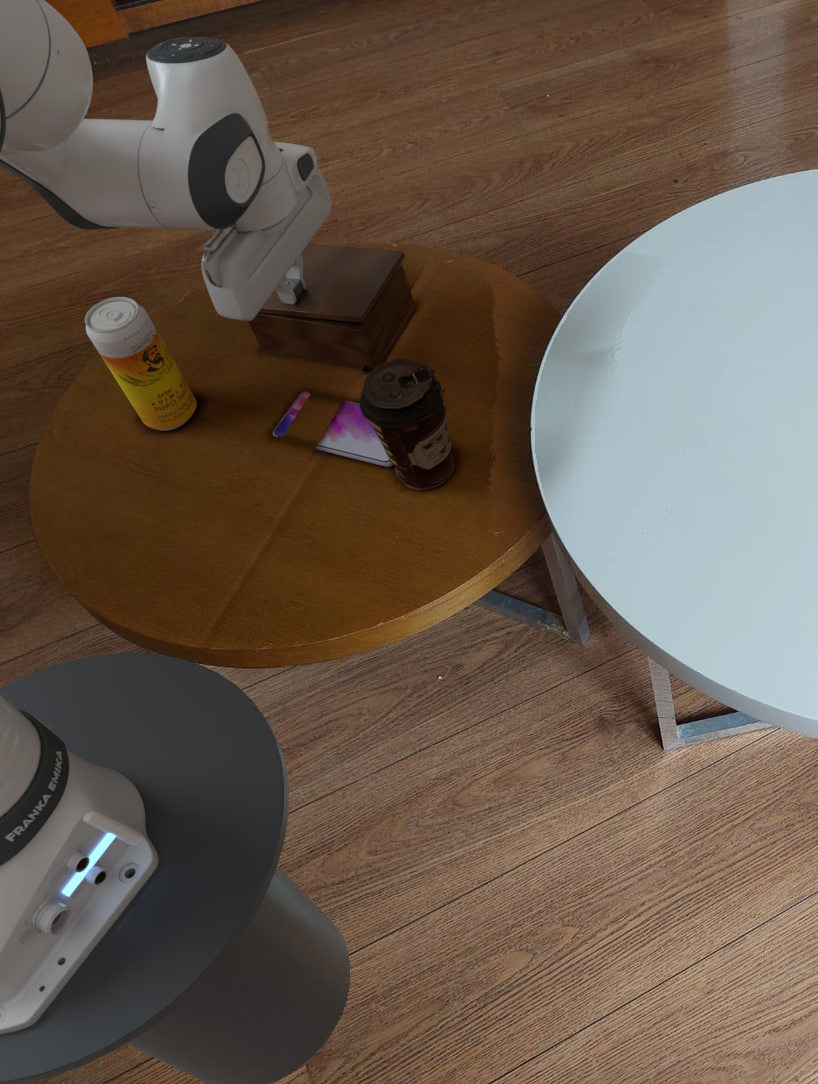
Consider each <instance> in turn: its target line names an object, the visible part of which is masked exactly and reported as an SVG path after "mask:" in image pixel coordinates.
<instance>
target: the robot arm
mask: <svg viewBox="0 0 818 1084" xmlns="http://www.w3.org/2000/svg"><path fill="white" fill-rule="evenodd" d="M145 61H146V66H147V71H148V74H149V78H150V80H151V81H150V82H151V84H152V86H153V90H154V92H155V96H156V98H157V105H156V112H155V115H154V118H153V120H150V119H149V120H145V119H144V120H143V119H112V118H95V117H90V116H89V117H86V115H87V113H88V110H89V108H90V104H91V101H92V97H93V89H94V78H93V77H94V75H93V69H92V62H91V60H90V56H89V53H88V50H87V47H86V44H85V43H84V41H83V40H82V38H81V37H80V35H79V33H78V32H77V30H75V28H74V27H73V26H72V25H71V23H70V22H69V21H68V20H67V19H66V18H65V17H64V16H63V15H62V14H61V13H60V12H59V11H58V10H57V9H55V8H54V7H53V6H52V5H51V3H48V2H47V1H46V0H0V167H1V168H3V169H5V170H6V171H8V172H10V173H11V174H13V175H14V176H16V177H17V178H19V179H21V180H23V181H24V182H25V183H27V184H28V185H29V186H30V187H32V188H33V189H34V190H35V191H36V192H37V193H38V195H40V196H41V197H42V198H43V200H44V201H45V202H46V203H47V204H48V205H49V206H50V207H51V208H52V210H54V212H55V213H56V214H57V215H59V217H61V218H62V219H63V220H64V221H66V222H67V223H68V224H70V225H71V226H73V227H76V228H78V229H80V230H81V229H82V230H86V231H88V230H89V231H91V230H92V231H93V230H114V229H144V230H145V229H146V230H147V229H149V230H174V231H175V230H186V231H187V230H188V231H215V232H214V234H213V235H212V236H211V238H209V239H208V240H207V241H206V242H205V243H204V246H203V251H204V253H203V255H202V256H201V261H200V267H201V273H202V274H201V275H202V277H203V281H204V283H205V286H206V290H207V292H208V295H209V297H210V299H211V302H212V305H213V307H214V309H215V311H216V312H217V314H218V315H219V316H221V317H223V318H226V319H230V320H235V321H242V322H243V321H244V322H248V321H251V320H253V319H254V318H255V316H256V315H257V314H258V312H259V311H260V309H261V308H262V307H263V305H264V304H265V303H266V301H267V300H268V298H269V297H270V296H271V294H272V293H273V292H274V291H277V294H278V296H279V298H280V300H281V301H282V302H283V303H286V304H292V305H293V304H295V303H296V301H297V300H298V298H299V297H300V295H301V294H302V293H303V291H304V290H305V288H306V284H305V281H304V279H303V277H302V276H303V257H302V254H301V253H302V252H303V250H304V249H305V248H306V246H307V245H308V244H310V243H311V241H312V239H313V238H314V237H315V235H316V234H317V233H318V231H319V230H320V229H321V227H322V226H323V224H325V222H326V221H327V220H328V218H329V217H330V216H331V213H332V205H333V204H332V203H333V200H332V197H331V193H330V191H329V187H328V184H327V182H326V180H325V177H324V175H323V172H322V170H321V168H320V167H319V166H317V165H318V158H317V154H316V152H315V150H314V148H313V147H309V146H306V145H301V144H296V143H289V142H282V141H280V142H279V141H274V140H273V139H272V137H271V135H270V131H269V121H268V120H269V119H268V117H267V114H266V112H265V109H264V107H263V104H262V101H261V99H260V97H259V94H258V92H257V90H256V87H255V86H254V84H253V82H252V79H251V77H250V75H249V73H248V72H247V69H246V67H245V66H244V64H243V62H242V61H241V59H240V58H239V56H238V55H237V53H236V52H235V51H234V50H233V48H232V47H231V46H230V44H228V43H226V42H225V41H224V40H221V39H217V38H216V37H207V36H180V37H176V38H173V39H172V38H169V39H167V40H163V41H161V42H159V43H158V44H156V45H154V46H153V47H152V48H151V49H149V50H148V52H147V53H146V55H145ZM158 863H159V857H158V853H157V851H156V849H155V847H154V846H153V844H152V842H151V841H150V839H149V838H148V836H147V832H146V820H145V808H144V804H143V800H142V798H141V795H140V793H139V791H138V790H137V788H136V787H135V785H134V784H133V783H132V782H131V781H130V780H129V779H128V778H127V777H125V776H124V775H122V774H121V773H119V772H117V771H115V770H112V769H109V768H106V767H102V766H98V765H95V764H92V763H90V762H88V761H86V760H84V759H82V758H80V757H78V756H77V755H75V754H73V753H71V752H70V751H68V750H67V749H66V746H65V743H64V742H63V741H62V740H61V739H60V738H59V737H58V736H56V735H55V732H54V731H53V730H52V729H50V728H49V727H48V726H47V725H46V724H44V723H43V722H42V721H40V720H39V719H37V718H36V717H34V716H32V715H31V714H29V713H28V712H26V711H24V710H17V709H16V708H14V707H13V706H12V705H11V704H10V703H9V702H8V701H7V700H6V699H4V698H3V697H2V696H1V695H0V1035H1V1034H6V1033H11V1032H15V1031H18V1030H21V1029H24V1028H27V1027H29V1026H31V1025H33V1024H34V1023H35V1022H36V1021H37V1020H38V1019H39V1018H40V1017H41V1016H42V1014H43V1013H44V1012H45V1010H46V1009H47V1008H48V1007H49V1005H50V1004H51V1003H52V1002H53V1000H54V999H55V998H56V997H57V995H58V994H59V993H60V991H61V990H62V989H63V988H64V986H65V985H66V984H67V982H68V981H69V980H70V979H71V977H72V976H73V975H74V973H75V972H76V971H77V970H78V968H79V967H80V966H81V965H82V963H83V962H84V961H85V959H86V958H87V957H88V956H89V954H90V953H91V952H92V950H93V949H94V948H95V947H96V945H97V944H98V943H99V942H100V940H101V939H102V938H103V936H104V935H105V934H106V933H107V931H108V930H109V929H110V927H111V926H112V925H113V924H114V922H115V921H116V920H117V918H118V917H119V916H120V915H121V913H122V912H123V911H124V910H125V908H126V907H127V906H128V904H129V903H130V902H131V901H132V899H133V898H134V897H135V895H136V894H137V893H138V892H139V890H140V889H141V888H142V887H143V885H144V884H145V883H146V881H147V880H148V879H149V878H150V876H151V875H152V874H153V872H154V871H155V870H156V868H157V866H158ZM134 871H135V875H134V876H133V877H132V878H129V875H130V874H131V873H132V872H134Z"/></svg>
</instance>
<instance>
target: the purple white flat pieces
mask: <svg viewBox="0 0 818 1084" xmlns="http://www.w3.org/2000/svg"><path fill="white" fill-rule="evenodd" d="M310 396H311V392H309V391H304V392H301V393H300V394H299V395H298V397H296V400H294V401H293V403H292V405H291V406H290V408H289V409H288V410H287V412H286V413H285V414H284V416H283V417H282V419H281V420H280V421H279V422H278V424H277V425H276V427H275V428H274V429H273V431H272V435H273V436H274V437H284V435H285V434H286V432H287V431H288V429H289V428H290V427H291V424H293V422H294V420H295V419H296V417H297V416H298V414H299V413H300V411H301V409H302V408H303V407H304V405H305V404H306V402H307V400H308V399H309V398H310ZM314 450H317V451H320V452H324V453H328V454H333V455H337V456H341V457H345V458H348V459H352V460H356V461H361V462H364V463H369V464H373V465H378V466H380V467H385V468H386V467H387V468H390V467H392V466H394V465H393V464H392V463H391V462H390V460H389V458H388V455H387V454H386V452H385V450H384V447H383V445H382V444H381V442H380V440H379V438H378V436H377V434H376V433H375V429H374V427H373V426H372V424H371V423H370V421H369V420H368V419H366V418H365V417H364V416H363V414H362V412H361V409H360V403H358V402H352V401H348V400H343V401H342V403H341V405H339V408H338V410H337V411H336V413H335V414H334V415H333V418H332V419H331V421H330V422H329V424H328V426H327V427H326V429H325V431H324V432H323V434H322V436H321V437H320V439H319V441H318V443H317V444H316V445H315V447H314Z"/></svg>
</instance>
